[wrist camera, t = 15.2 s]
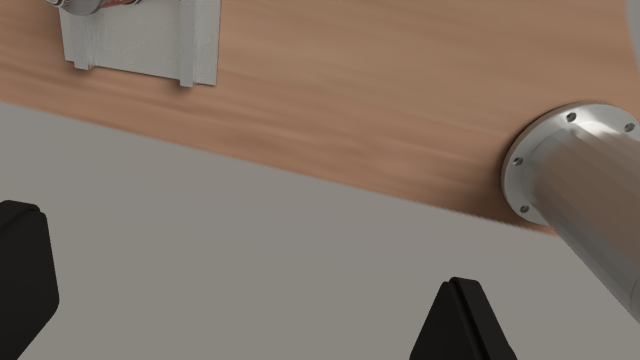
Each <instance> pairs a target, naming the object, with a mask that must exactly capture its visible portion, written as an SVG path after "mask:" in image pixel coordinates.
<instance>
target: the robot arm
mask: <svg viewBox="0 0 640 360" xmlns="http://www.w3.org/2000/svg"><path fill="white" fill-rule="evenodd" d="M501 187H502V192H503V194H504V197H505V199H506V201H507V202H508V204H509V205H510V206H511V208H512V209H513V210H514V211H515V212H516V213H517V214H518V215H519V216H521V217H522V218H524V219H526V220H527V221H530V222H532V223H535V224H539V225H545V226H551V227H552V228H553V229H554V230H555V231H556V233H557V234H558V235H559V236H560V237H561V238H562V239H563V240H564V241H565V242H566V243H567V245H568V246H569V247H570V248H571V249H572V250H573V251H574V252H575V254H576V255H577V256H578V257H579V258H580V259H581V260H582V261H583V262H584V263H585V264H586V266H587V267H588V268H589V269H590V270H591V271H592V272H593V274H594V275H595V276H596V277H597V278H598V279H599V280H600V281H601V282H602V283H603V285H604V286H605V287H606V288H607V289H608V290H609V291H610V292H611V293H612V294H613V296H614V297H615V298H616V299H617V300H618V301H619V302H620V303H621V305H622V306H623V307H624V308H625V309H626V310H627V311H628V312H629V313H630V314H631V315H632V316H633V318H635V320H636V321H638V323H639V324H640V124H639V122H638V121H637V120H636V119H635V118H634V117H633V116H632V115H631V114H629V113H627V112H626V111H624V110H622V109H620V108H618V107H616V106H613V105H611V104H608V103H602V102H597V101H593V102H578V103H573V104H568V105H566V106H563V107H560V108H557V109H555V110H553V111H551V112H549V113H547V114H545V115H543V116H542V117H540V118H539V119H537V120H536V121H535V122H533V123H532V124H531V125H529V126H528V127H527V128H526V129H525V130H524V131H523V132H522V133H521V134H520V135H519V136H518V138H517V139H516V140H515V142H514V143H513V144H512V146H511V147H510V149H509V151H508V153H507V155H506V157H505V159H504V163H503V166H502V170H501ZM58 305H59V293H58V287H57V280H56V275H55V268H54V261H53V255H52V249H51V243H50V236H49V230H48V224H47V218H46V215H45V214H44V213H42V212H40V209H39V208H38V207H37V206H36V205H34V204H29V203H23V202H18V201H12V200H6V201H3V202H1V203H0V360H17V359H18V358H19V356H20V355H21V354H22V353H23V352H24V350H25V349H26V348H27V347H28V345H29V344H30V343H31V342H32V341H33V339H34V338H35V337H36V336H37V334H38V333H39V332H40V331H41V330H42V328H43V327H44V326H45V325H46V323H47V322H48V321H49V320H50V319H51V317H52V316H53V315H54V313H55V312H56V310H57V308H58ZM409 360H517V358H516V355H515V353H514V352H513V350H512V349H511V347H510V346H509V344H508V342H507V340H506V338H505V336H504V334H503V331H502V329H501V327H500V325H499V323H498V321H497V319H496V317H495V314H494V312H493V310H492V308H491V306H490V304H489V302H488V300H487V298H486V295H485V293H484V291H483V289H482V287H481V285H480V283H479V282H478V281H476V280H470V279H464V278H459V277H452V278H451V279H450V280H449V282H443V283H442V285H441V287H440V289H439V291H438V293H437V296H436V298H435V300H434V303H433V305H432V307H431V309H430V311H429V314H428V316H427V318H426V320H425V323H424V325H423V327H422V330H421V332H420V334H419V336H418V338H417V341H416V343H415V345H414V347H413V350H412V352H411V355H410V359H409Z"/></svg>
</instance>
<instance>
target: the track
mask: <svg viewBox="0 0 640 360" xmlns="http://www.w3.org/2000/svg"><path fill="white" fill-rule="evenodd" d="M59 14H60V22H61V30H62V38H63V46H64V53H65V60H67V61H73V62H74V64H75V68H79V69H85V70H89V69H91V68H94V67H96V66H103V67H109V68H114V69H120V70H126V71H132V72H138V73H144V74H150V75H156V76H161V77H167V78H173V79H179V80H180V86H186V87H192V88H193V87H194V86H195V85H196V84H197V83H203V84H209V85H214V86H216V85H217V72H218V54H219V35H220V17H221V0H142V1H141V2H139V3H138V4H134V5H130V6H127V5H121V4H120V5H116V6H111V7H106V8H101V9H99V10H98V11H97V12H96V13H93V14H89V15H85V16H78V15H74V14H71V13H69V12H67V11H65V10H64V9H63V8H61V7H59Z"/></svg>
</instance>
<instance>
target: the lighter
mask: <svg viewBox="0 0 640 360" xmlns="http://www.w3.org/2000/svg"><path fill="white" fill-rule="evenodd" d="M44 1H46V2H47V3H49V4H50V5H52V6H55V7H61V8H63V9H64V10H65V11H67V12H69V13H71V14H74V15H78V16H85V15H89V14H93V13H96V12H97V11H98V10H99V9H101V8H106V7H111V6H116V5H120V4H121V5H127V6H130V5H134V4H138V3H139V2H141V1H142V0H44Z"/></svg>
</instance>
